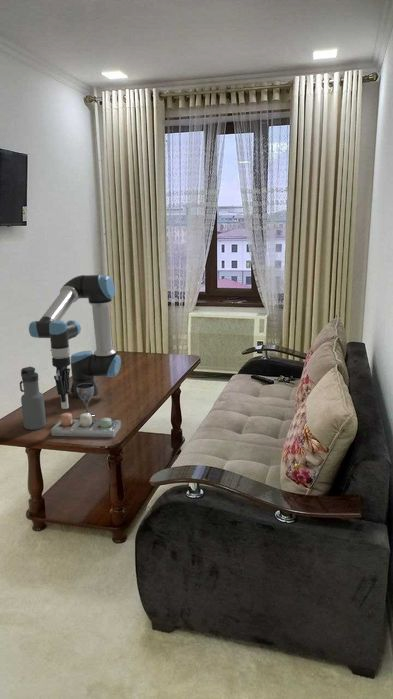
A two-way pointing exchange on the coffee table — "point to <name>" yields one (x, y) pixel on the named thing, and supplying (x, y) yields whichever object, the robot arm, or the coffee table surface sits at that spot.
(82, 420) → the white egg
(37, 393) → the water bottle
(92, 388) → the wine glass
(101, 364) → the robot arm
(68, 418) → the brown egg
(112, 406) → the coffee table surface
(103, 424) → the pale green rounded egg
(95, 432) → the panel
